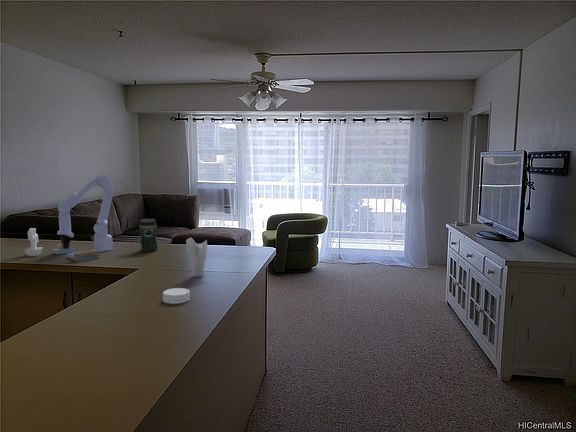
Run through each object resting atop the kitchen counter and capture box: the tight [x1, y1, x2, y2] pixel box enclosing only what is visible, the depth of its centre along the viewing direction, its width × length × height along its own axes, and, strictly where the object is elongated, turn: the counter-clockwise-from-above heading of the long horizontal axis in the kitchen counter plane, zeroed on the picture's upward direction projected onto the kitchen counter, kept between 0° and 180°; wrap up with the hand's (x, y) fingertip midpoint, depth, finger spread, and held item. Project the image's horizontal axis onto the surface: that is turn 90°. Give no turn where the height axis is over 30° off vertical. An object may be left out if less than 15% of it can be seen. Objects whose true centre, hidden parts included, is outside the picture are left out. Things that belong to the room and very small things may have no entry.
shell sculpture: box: [185, 237, 208, 278], centre depth 200 cm, size 8×8×18 cm
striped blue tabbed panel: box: [66, 249, 100, 263], centre depth 234 cm, size 12×14×4 cm
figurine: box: [23, 227, 44, 257], centre depth 239 cm, size 7×9×15 cm
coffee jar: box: [138, 218, 158, 252], centre depth 255 cm, size 10×8×19 cm
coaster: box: [162, 287, 191, 305], centre depth 166 cm, size 10×10×4 cm
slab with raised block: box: [52, 242, 75, 255], centre depth 246 cm, size 9×5×5 cm, turn 143°
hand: (66, 248), depth 244 cm, fingers closed
